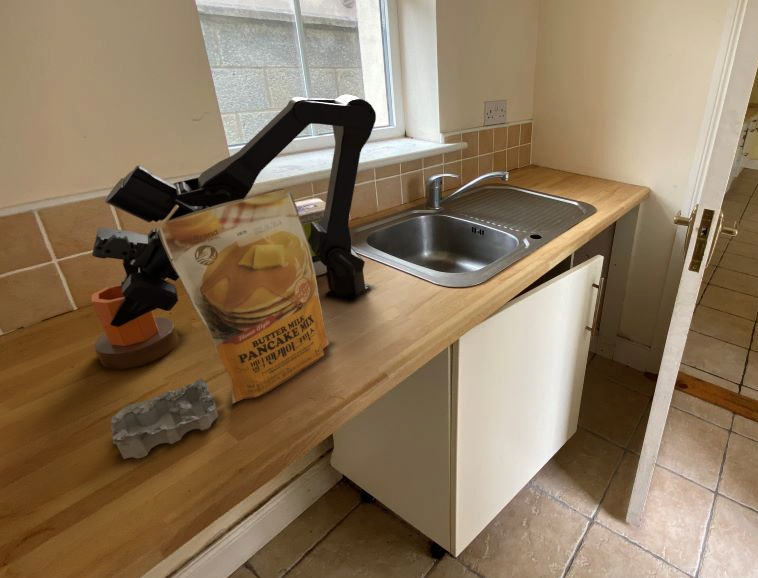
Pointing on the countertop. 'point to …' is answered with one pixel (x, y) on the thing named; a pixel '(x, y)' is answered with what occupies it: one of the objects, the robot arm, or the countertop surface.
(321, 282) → the countertop surface
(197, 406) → the egg carton
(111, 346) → the walnut ring base
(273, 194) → the pancake mix bag
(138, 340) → the orange faceted cup
